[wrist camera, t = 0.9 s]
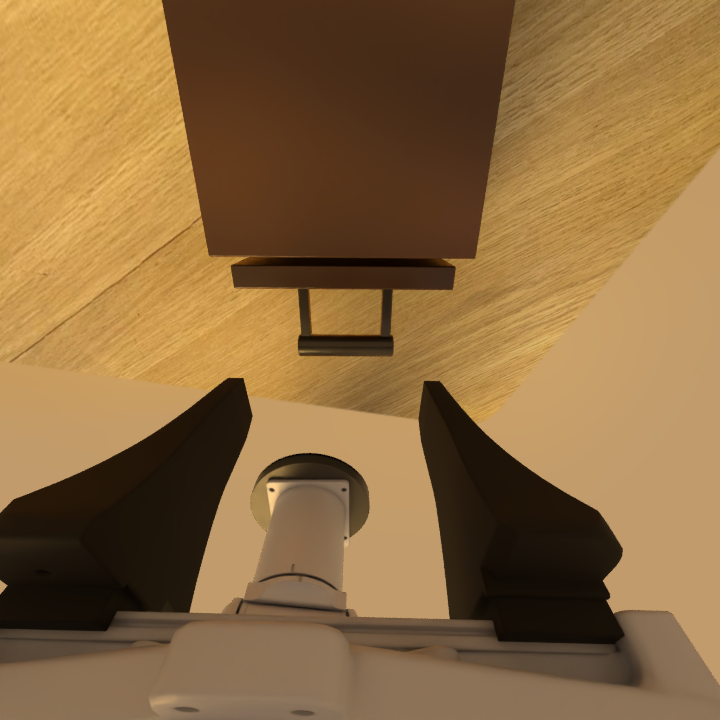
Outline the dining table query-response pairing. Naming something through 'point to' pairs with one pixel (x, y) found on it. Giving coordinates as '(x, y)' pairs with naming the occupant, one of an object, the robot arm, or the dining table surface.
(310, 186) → the brown drawer cabinet
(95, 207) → the dining table surface
